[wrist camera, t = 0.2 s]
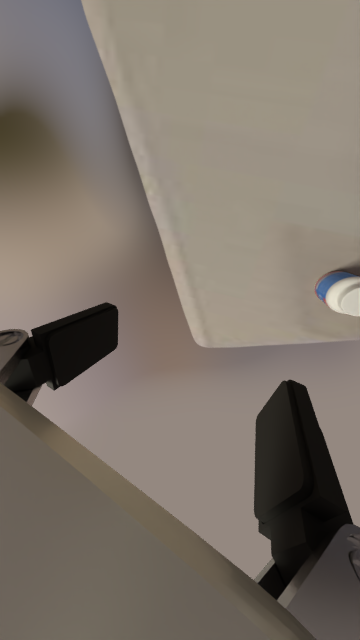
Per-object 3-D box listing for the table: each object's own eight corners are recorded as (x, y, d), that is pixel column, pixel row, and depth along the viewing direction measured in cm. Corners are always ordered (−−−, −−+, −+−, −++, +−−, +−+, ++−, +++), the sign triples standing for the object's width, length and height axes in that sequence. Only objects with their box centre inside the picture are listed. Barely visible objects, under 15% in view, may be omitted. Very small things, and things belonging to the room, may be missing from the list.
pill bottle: (306, 293, 31) (323, 310, 23) (327, 266, 29) (354, 273, 20) (338, 305, 30) (367, 327, 22) (362, 277, 27) (406, 291, 19)
